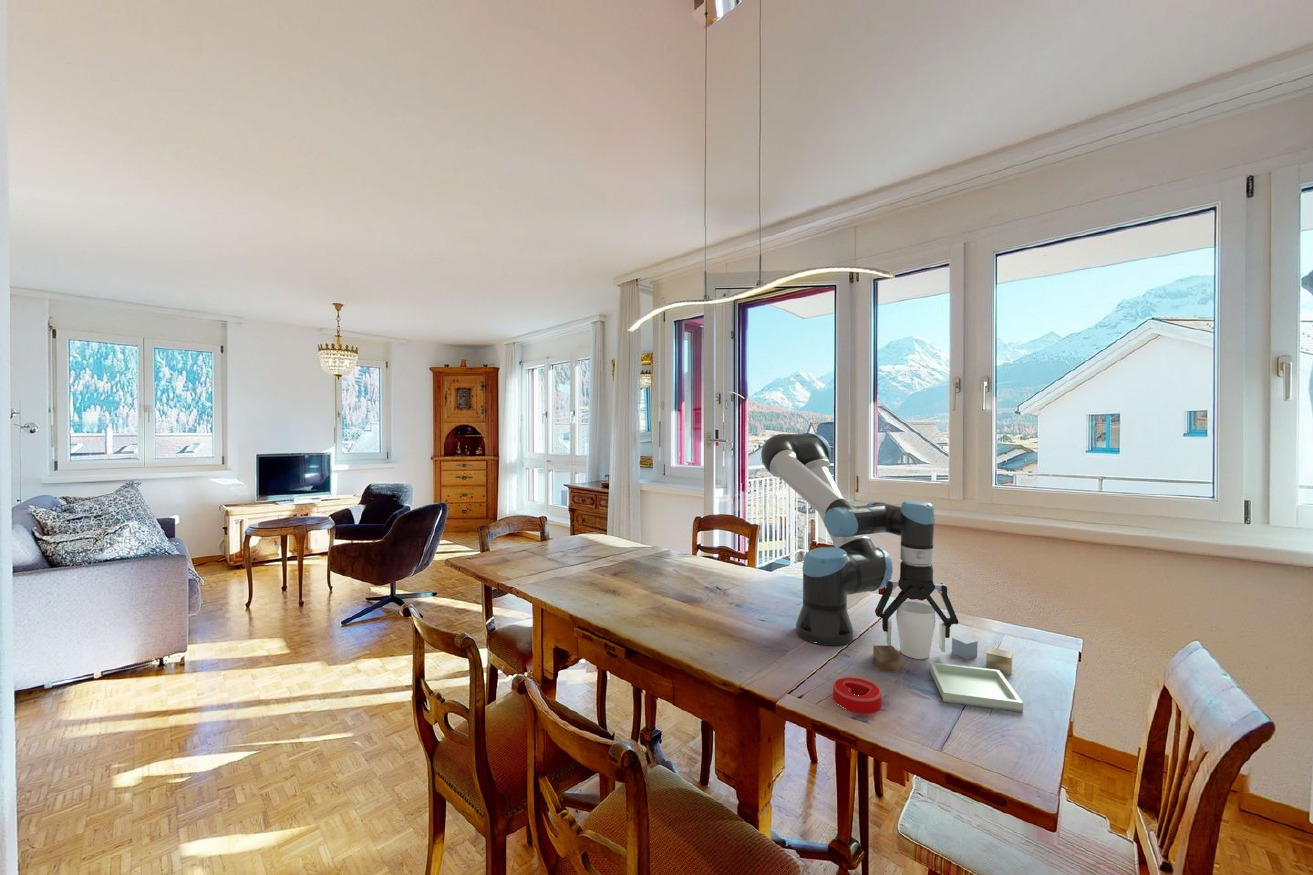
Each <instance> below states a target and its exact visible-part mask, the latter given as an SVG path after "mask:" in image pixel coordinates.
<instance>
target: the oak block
mask: <svg viewBox="0 0 1313 875" xmlns="http://www.w3.org/2000/svg"><path fill="white" fill-rule="evenodd" d="M985 655H986V657H985V658H986V659H985V660H986V661H985V664H986V665H985V668H986V669H995V670H1000V672H1001V673H1002V674H1007V675H1012V672H1013V652H1012V651H1007V650H1003V649H999V648H996V647H995V648H994V647H990V646H988V647H987V650H986V653H985Z"/></svg>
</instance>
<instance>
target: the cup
mask: <svg viewBox="0 0 1313 875" xmlns="http://www.w3.org/2000/svg"><path fill="white" fill-rule="evenodd" d="M895 619H896V626H897V632H898V633H897V634H898V639H899V640H898V641H899V648H900V654H903V656H905V657H908V658H911V659H915V660H925V659H928V658H930V654H931V649H932V643H933V638H934V634H935V627H936V622H937V621H936V611H935V610H934V609H933V607H932V606H931V605H930V604H926V603H922V602H919V601H907V600H905V601H904V602H903V603H902V604H901V605H900V606H899V607H898V609H897V610H896V613H895Z"/></svg>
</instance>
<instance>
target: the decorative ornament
mask: <svg viewBox="0 0 1313 875" xmlns="http://www.w3.org/2000/svg"><path fill="white" fill-rule="evenodd" d="M854 694H855V695H854ZM858 695H859V696H858ZM833 698H834V699H833ZM832 699H833V701H834V700H835V701H836V703H837V704H839V705H841V706H842V707H844V708H846V709H847V710H846V709H845V710H846V711H848V710H849V711H848V712H851V711H852V713H855V712H856V714H865V715H866V714H867V715H868V714H874V713H877V712H878V711H880V710H881V708H882V691H881V689H880V687H879V686H877V685H876V684H874V683H873V682H871V681H869V680H866V679H864V678H858V677H850V676H849V677H841V678H839V679H836V680H835V681H834V682H833V684H832ZM835 701H834V702H835ZM836 703H835V704H836ZM837 704H836V705H837ZM839 705H838V706H839ZM842 707H841V708H842Z"/></svg>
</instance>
